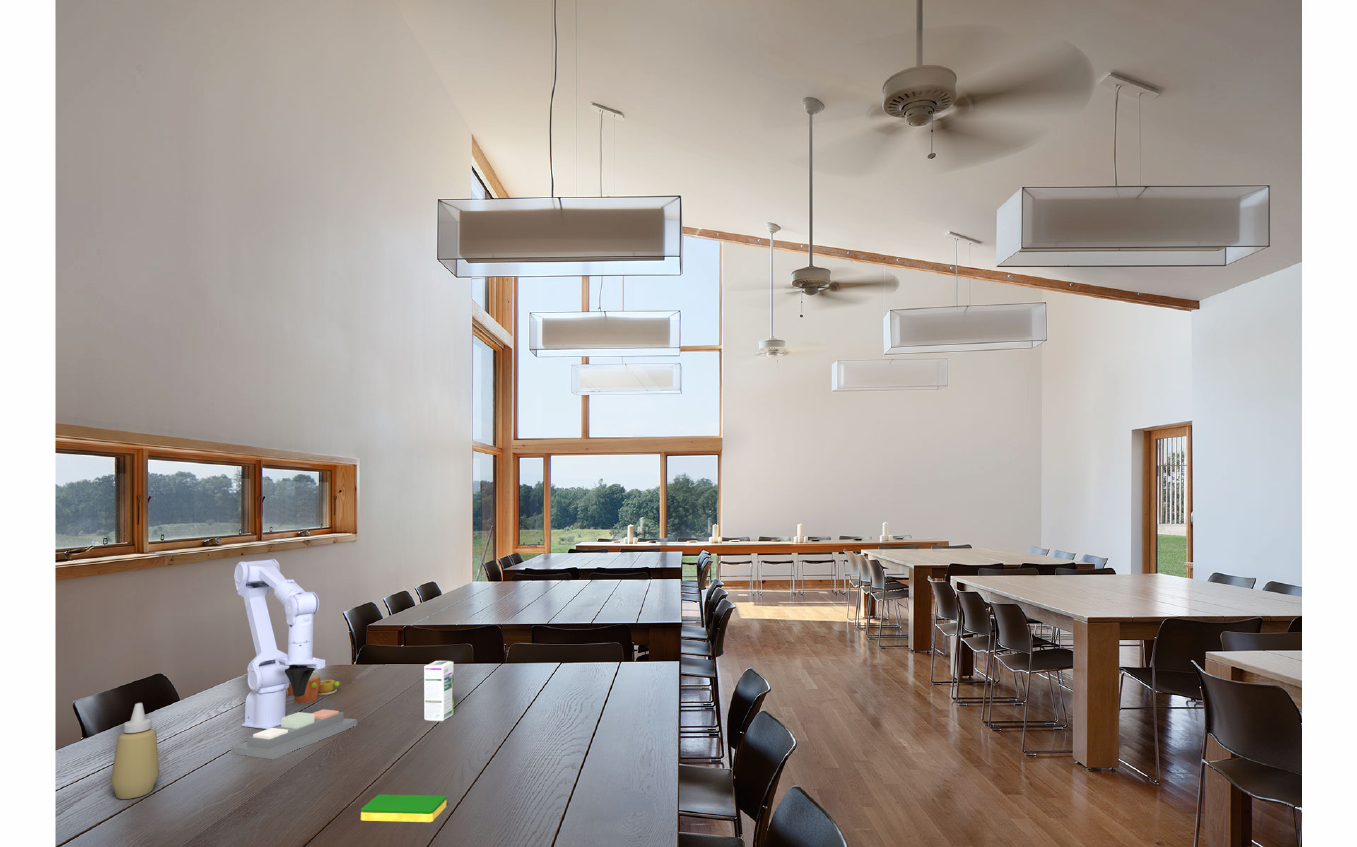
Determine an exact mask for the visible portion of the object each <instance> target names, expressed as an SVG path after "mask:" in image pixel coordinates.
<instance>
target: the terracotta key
mask: <svg viewBox="0 0 1357 847" xmlns="http://www.w3.org/2000/svg"><path fill="white" fill-rule="evenodd" d="M339 712H340V711H339V710H334V709H333V710H332V709H320V710H318V711H314V712H312V713H311V714H315V716H314V718H316V719H325V718H328V717H330V716H333V715H336V714H339Z"/></svg>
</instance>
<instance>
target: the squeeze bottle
mask: <svg viewBox="0 0 1357 847" xmlns="http://www.w3.org/2000/svg"><path fill="white" fill-rule="evenodd" d="M132 710H133V711H132V714H131V717H130V720H129V721H126V722H124V724H123V733H122V734H120V735H119V736H118V737H117V741H116V742H117V743H116V747H115V751H114V752H115V753H114V759H113V765H112V770H111V777H110V782H111V786H112V788H113V791H114V793H115V796H116V799H119V800H120V799H121V800H128V799H135V798H140V797H142V796H145V795H147V794H150V793H151V792H152V791H153V789H154V786H155V783H156V782H157V778H158V776H159V774H160V766H159V765H160V764H159V752H158V751H159V750H158V737H157V736H158V735H157V730H155V729H153V728H152V722H153V721H152V719H151V718H146V714H145V709H144V705H143V702H137V703H135V704H134V707H133V709H132Z"/></svg>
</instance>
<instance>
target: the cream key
mask: <svg viewBox="0 0 1357 847" xmlns="http://www.w3.org/2000/svg"><path fill="white" fill-rule="evenodd" d="M285 733H288V730H286V729H278V728H275V727H273V728H270V729H264V730H262V731H258V732H255V733H253V734H252V735H253V737H256V738H264V739H271V738H274V737H277V736H279V735H282V734H285Z"/></svg>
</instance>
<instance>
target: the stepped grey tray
mask: <svg viewBox="0 0 1357 847" xmlns="http://www.w3.org/2000/svg"><path fill="white" fill-rule="evenodd" d="M353 726H354V727H357V726H358V719H356V718H345V717H344V711H342V712H341V711H339V714H336V715H333V716H330V717H328V718H325V719H316V718H314V723H312V724H309V725H306V726H304V727H301V728H298V729H295V728H286V727H281V725H279V726H276V727H274V728H278V729H286V730H288V733H285V734H282V735H279V736H277V737H274V738H271V739H264V738H256V737H253V734H252V735H250V736H248V737H247V740H246V741H244V742H241V743H238V744H235V745H233V746H230V748H231V749H230V754H231V755H232V754H233V755H240V756H245V755H247V756H246V757H252V758H253V757H254V758H261V759H267V760H268V759H269V760H275V759H278V758H281V757H283V756H286V755H288V754H290V753H293V752H295V751H297V749H298V750H300V749H302V748H305V747H307V746H310V745H312V744H315V743H317V742H320V741H322V740H325V739H328V738H330V737H332V736H335V735H337V734H340V733H341V732H345V731H347V730H349V728H350V729H351V728H354V727H353ZM319 740H320V741H319ZM299 748H300V749H299ZM294 750H295V751H294ZM292 751H293V752H292Z"/></svg>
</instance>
